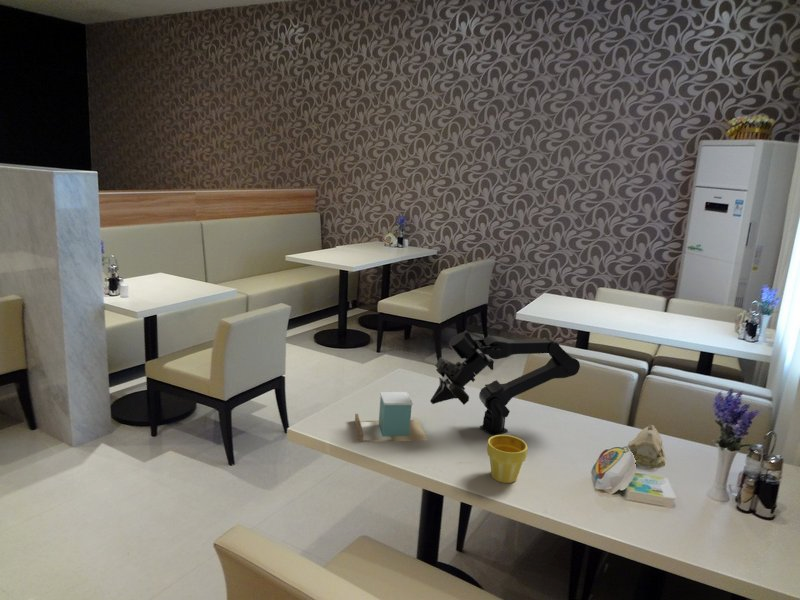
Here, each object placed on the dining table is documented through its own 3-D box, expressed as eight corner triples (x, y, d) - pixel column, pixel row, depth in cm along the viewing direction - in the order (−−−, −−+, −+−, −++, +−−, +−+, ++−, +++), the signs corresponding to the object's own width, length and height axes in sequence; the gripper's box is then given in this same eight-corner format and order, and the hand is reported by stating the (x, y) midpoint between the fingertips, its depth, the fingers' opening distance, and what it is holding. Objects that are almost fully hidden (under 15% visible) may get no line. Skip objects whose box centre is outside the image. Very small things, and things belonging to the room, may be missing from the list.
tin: (404, 423, 179) (407, 392, 177) (409, 436, 171) (412, 403, 169) (377, 424, 178) (380, 392, 175) (382, 436, 170) (384, 403, 167)
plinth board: (417, 421, 183) (418, 412, 182) (427, 442, 170) (428, 432, 169) (354, 422, 179) (355, 413, 179) (360, 443, 166) (360, 434, 165)
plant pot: (479, 480, 150) (483, 446, 148) (489, 463, 160) (492, 431, 158) (519, 491, 147) (523, 456, 144) (526, 472, 156) (530, 439, 154)
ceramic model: (662, 472, 162) (669, 439, 160) (621, 460, 167) (626, 428, 165) (668, 453, 174) (674, 422, 171) (629, 442, 179) (634, 412, 177)
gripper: (445, 341, 181) (408, 373, 181) (462, 360, 163) (421, 397, 163) (466, 364, 184) (430, 397, 185) (485, 386, 166) (445, 422, 167)
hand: (431, 402), depth 175 cm, fingers closed
